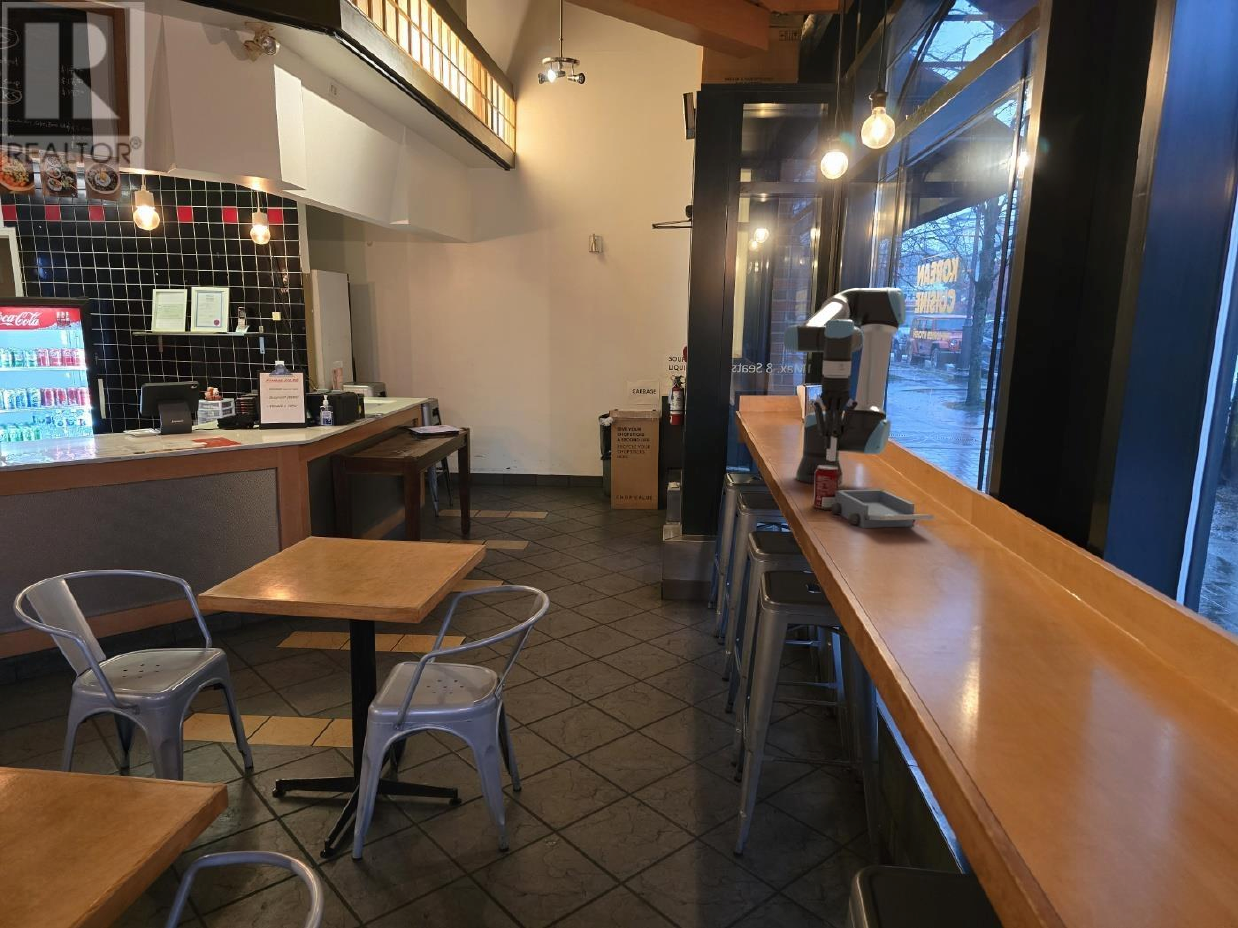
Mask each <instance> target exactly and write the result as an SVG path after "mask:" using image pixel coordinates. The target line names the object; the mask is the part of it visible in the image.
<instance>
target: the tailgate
mask: <svg viewBox="0 0 1238 928" xmlns="http://www.w3.org/2000/svg"><path fill="white" fill-rule="evenodd" d="M934 518H935V517H934V514H916V513H914V514H894V515H865V520H909V519H915V520H930V519H931V520H933V519H934Z"/></svg>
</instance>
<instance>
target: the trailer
mask: <svg viewBox="0 0 1238 928" xmlns="http://www.w3.org/2000/svg"><path fill="white" fill-rule="evenodd" d="M830 511H831V513H832V514H833V515H840V516H842V517H843V518H845V519H846V520H848V521H849V524H850V525H851V526H858V527H860V528H862V529H867V528H871V529H872V528H895V527H897V528H899V527H900V528H901V527H903V528H904V527H913V524H914V523H915V522H916V519H909V520H865V515H894V514H915V503H913V502H911V501H908V500H906V499H904V498H902V497H900V496H898V495H895V494H893V493H891V492H889V491H886V490H885V489H882V488H881V489H880V488H879V489H843V490H839V489H838V490H836V491H835V503H833V504H832V507H831V510H830Z"/></svg>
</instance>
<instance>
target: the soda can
mask: <svg viewBox="0 0 1238 928" xmlns="http://www.w3.org/2000/svg"><path fill="white" fill-rule="evenodd" d="M837 469H838V467H836V466H831V465H819V466H818V469H817V470H816V471H815V478H814V484H813V495H812V496H813V498H812V506H814V507H815V508H816V509H818V510H821V511H822V510H823V511H824V510H825V511H832V510H831V507H832V504H833V503H835V491H836V490H839V486H840V485H839V484H840V483H839V472H838V470H837Z"/></svg>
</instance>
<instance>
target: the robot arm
mask: <svg viewBox="0 0 1238 928" xmlns="http://www.w3.org/2000/svg"><path fill="white" fill-rule="evenodd" d="M906 308H907V307H906V299H905V294H904V292H903V290H902V289H900V288H897V287H896V288H895V287H888V286H887V287H874V288H873V287H872V288H871V287H868V288H867V287H866V288H861V287H860V288H858V287H855V288H850V289H846V290H843V291H840V292H838V293H835V294H833V295H832V296H830V297H829V298H827V299H826V300H825V301H823V303H822V305H821V307H820V309H819V310H817V311H816V312H815V313H814V314H813V315H812V316H810V317H809V318H808V319H807V320H805V321H804V322H803V323H802V324H800V325H797V324H795V325H788V326H787V327H785V328H784V329H785V330H784V333H783V338H782V339H783V347H784V349H785V350H786V351H789V352H796V353H799V352H801V353H802V352H803V353H823V360H822V370H821V371H822V372H821V373H822V375H823V376H822V378H821V389H820V390H821V392H820V395H819V398H818V399H815V401H811V403H810V404H811V406H812V408H813V410H814V412H810V413H808V414H807V415H806V416H805V420H804V426H803V447H802V456H801V459H800V462H799V465H798V467H797V470H796V474H795V475H796V476H795V479H796V480H797V481H800V482H803V483H807V484H813V485H814V478H815V471H816V470H817V469H818V466H819V465H831V466H836V467H838V469H837V470H838V472H839V484H841V483H842V482H843V478H844V477H843V476H844V475H843V470H842V466H841V463H840V459H839V457H840V456H839V454H840V452H845V453H854V454H855V453H856V454H864V455H879V454H881V453H882V452H883V451H884V450H885V449H886V445H887V443H888V440H889V437H890V433H891V426H892V423H891V420H890V419H889V418H887V413H886V412H885V410H884V408H883V405H884V399H885V398H884V397H885V392H886V390H885V389H886V386H887V385H886V383H887V376H888V369H889V363H890V357H891V355H890V354H891V349H892V340H893V336H894V335H895V334H897V333H898V331H899V326H902V325H905V323H906V317H907V315H906V314H907V313H906V312H907V310H906ZM855 325H860V328H859V327H858V326H855ZM859 350H861V358H860V363H859V364H860V365H859V372H858V377H857V379H858V381H857V386H856V394H855V400H853V398H851V395H850V388H851V386H850V385H851V378H850V376H851V373H852V372H851V371H852V360H853V359H852V356H853V353H856V352H857V351H859ZM823 406H824V411H823V409H822V407H823ZM845 406H846V408H845V409H844V407H845ZM843 412H844V413H843Z"/></svg>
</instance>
